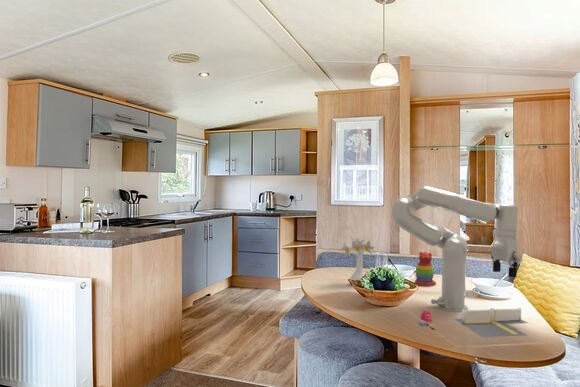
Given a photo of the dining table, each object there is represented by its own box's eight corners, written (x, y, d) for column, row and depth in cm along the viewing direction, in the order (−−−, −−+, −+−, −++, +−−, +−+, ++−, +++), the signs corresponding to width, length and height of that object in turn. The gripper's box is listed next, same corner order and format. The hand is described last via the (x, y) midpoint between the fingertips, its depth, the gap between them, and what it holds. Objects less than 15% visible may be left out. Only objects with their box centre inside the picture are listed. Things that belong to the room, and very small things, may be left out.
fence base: (482, 338, 137) (483, 323, 137) (454, 320, 155) (454, 306, 155) (551, 335, 142) (551, 320, 141) (515, 318, 159) (516, 304, 159)
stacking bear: (436, 283, 212) (437, 252, 212) (432, 287, 204) (433, 254, 203) (416, 280, 218) (417, 249, 217) (412, 284, 210) (413, 252, 209)
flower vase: (337, 284, 205) (338, 238, 204) (362, 280, 216) (363, 236, 215) (354, 290, 194) (356, 242, 194) (379, 285, 205) (380, 239, 204)
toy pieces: (409, 321, 153) (409, 311, 153) (429, 318, 158) (430, 307, 158) (432, 332, 142) (433, 321, 142) (453, 328, 147) (454, 317, 147)
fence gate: (495, 321, 153) (496, 309, 153) (493, 319, 154) (493, 308, 154) (521, 320, 154) (522, 308, 154) (519, 318, 156) (519, 307, 156)
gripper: (484, 230, 168) (482, 269, 168) (513, 236, 150) (511, 279, 151) (499, 230, 169) (497, 269, 169) (530, 236, 152) (528, 279, 152)
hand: (504, 274), depth 160 cm, fingers open, 8 cm apart
